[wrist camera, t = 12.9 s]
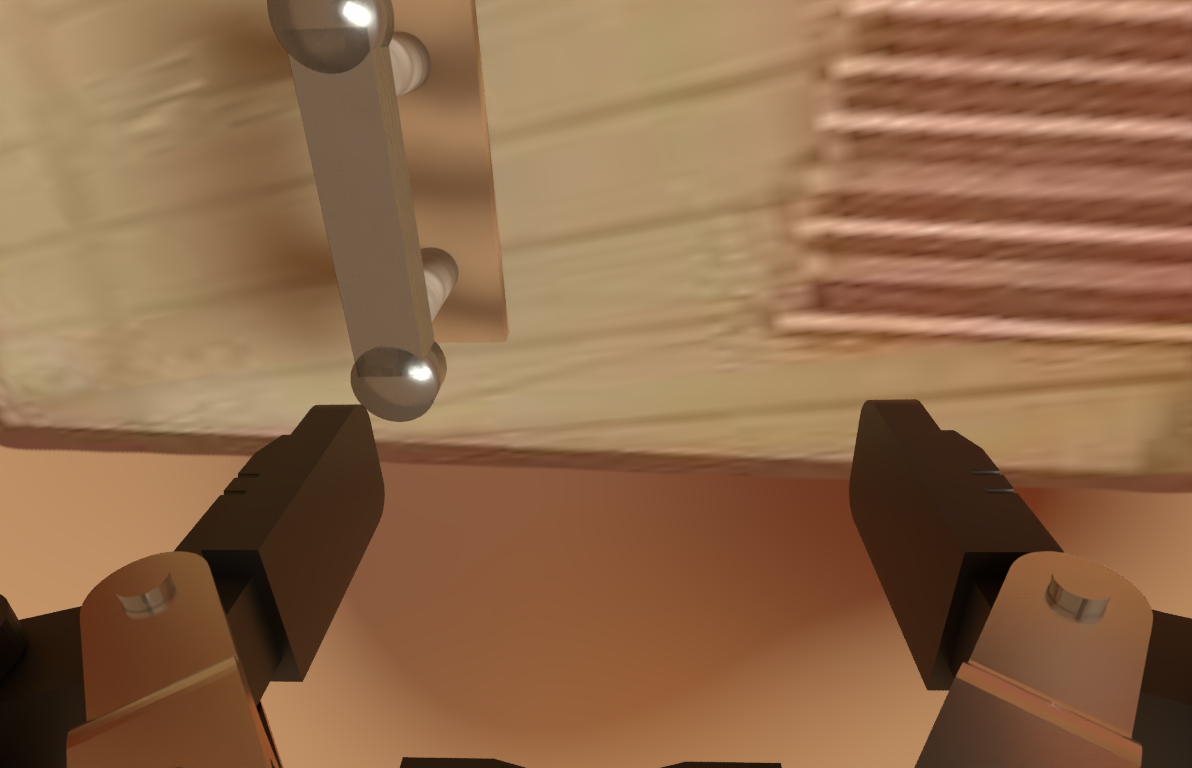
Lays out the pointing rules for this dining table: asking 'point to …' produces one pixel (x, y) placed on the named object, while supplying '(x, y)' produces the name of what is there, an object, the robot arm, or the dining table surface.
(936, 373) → the dining table surface
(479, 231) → the peg stand
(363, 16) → the grey knobbed bar
